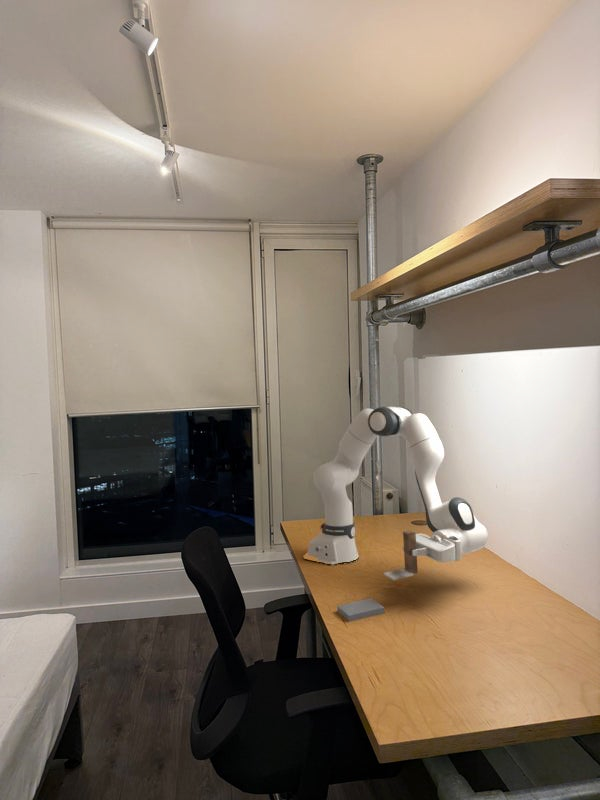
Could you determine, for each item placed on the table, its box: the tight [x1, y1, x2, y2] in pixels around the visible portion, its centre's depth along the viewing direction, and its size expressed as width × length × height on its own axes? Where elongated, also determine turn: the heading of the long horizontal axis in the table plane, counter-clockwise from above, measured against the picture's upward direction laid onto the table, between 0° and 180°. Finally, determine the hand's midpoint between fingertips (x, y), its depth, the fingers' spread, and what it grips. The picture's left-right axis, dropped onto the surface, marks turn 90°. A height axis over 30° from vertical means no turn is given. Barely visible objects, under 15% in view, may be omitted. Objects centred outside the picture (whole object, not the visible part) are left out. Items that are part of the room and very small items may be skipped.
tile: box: [336, 597, 386, 622], centre depth 172 cm, size 2×8×12 cm
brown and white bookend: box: [383, 529, 419, 581], centre depth 177 cm, size 10×6×13 cm, turn 113°
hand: (407, 551), depth 178 cm, fingers closed on brown and white bookend, 3 cm apart
